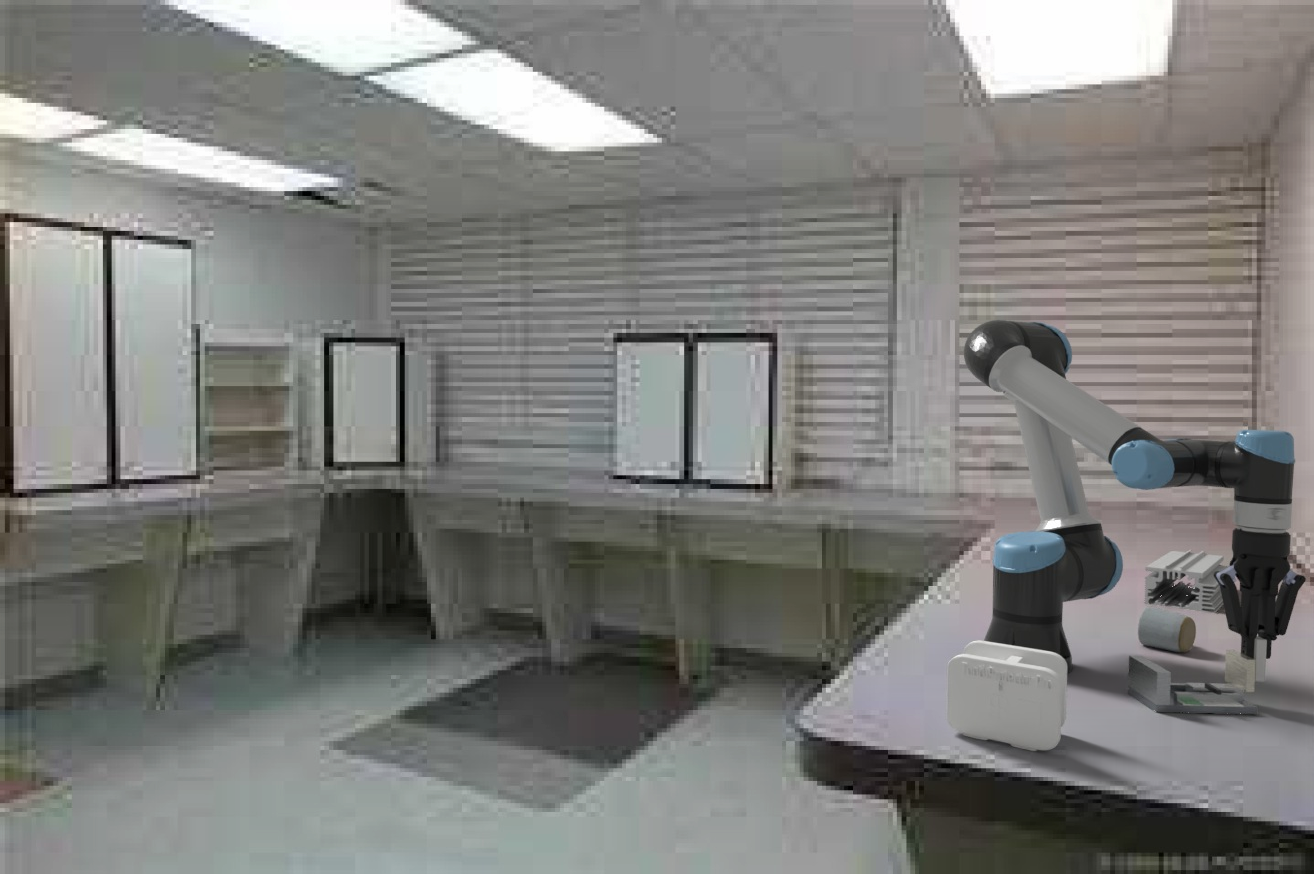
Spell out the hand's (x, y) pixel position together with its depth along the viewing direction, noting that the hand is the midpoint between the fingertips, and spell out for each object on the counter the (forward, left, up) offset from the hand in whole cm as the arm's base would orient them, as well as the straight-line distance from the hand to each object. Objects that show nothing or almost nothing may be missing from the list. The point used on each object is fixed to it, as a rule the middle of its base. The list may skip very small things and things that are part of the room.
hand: (1254, 678), depth 140 cm
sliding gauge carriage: (-6, -1, -3) cm, 7 cm away
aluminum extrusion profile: (+33, +80, -5) cm, 87 cm away
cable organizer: (-43, -16, -5) cm, 46 cm away
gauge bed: (-10, 0, -4) cm, 11 cm away
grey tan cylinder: (+4, +33, -5) cm, 34 cm away
